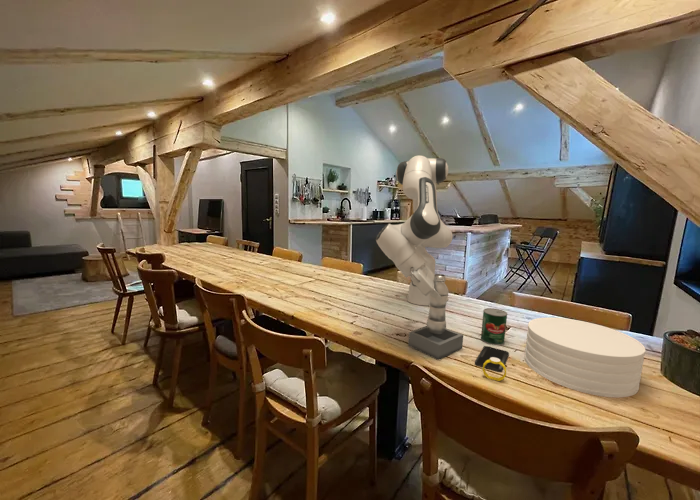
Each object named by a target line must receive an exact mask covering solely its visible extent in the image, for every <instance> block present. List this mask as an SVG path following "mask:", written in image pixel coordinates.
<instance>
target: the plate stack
mask: <svg viewBox="0 0 700 500" xmlns="http://www.w3.org/2000/svg"><path fill="white" fill-rule="evenodd" d="M525 344H526V345H525V349H524V351H525V352H524V358H523V359H524V361H525V364H526V365H527V366H528V367H529V368H530V369H531V370H532V371H534V372H535V373H536V374H538V375H539V376H542V377H543V378H545V379H547V380H548V381H551V382H552V383H555V384H558V385H560V386H562V387H564V388H565V387H566V388H568V389H570V390H572V391H576V392H577V391H578V392H580V393H584V394H588V395H592V396H598V397H605V398H627V397H631V396H634V395H636V394H637V393H638V392H639V389H640V382H641V378H642V375H641V374H642V373H643V365H644V362H645V361H644V360H645V358H644V357H645V355H646V354H645V353H646V347H645V346H644V344H643V343H641V341H639V340H637V339H636V338H634V337H632V336H630V335H628V334H626V333H623V332H621V331H618V330H617V329H614V328H609V327H607V326H604V325H601V324H596V323H593V322H587V321H583V320H578V319H573V318H572V319H571V318H564V317H536V318H534V319H533V318H532V319H531V320H530V321H528V325H527V331H526V340H525Z"/></svg>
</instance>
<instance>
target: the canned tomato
mask: <svg viewBox="0 0 700 500" xmlns="http://www.w3.org/2000/svg"><path fill="white" fill-rule="evenodd" d="M482 311H483V313H482V324H481V332H480V333H481V334H480V340H481V341H482V342H483V343H485V344H488V345H492V346H502V345H504V344H505V337H506V328H507V319H508V312H506V311H505V310H503V309H500V308H491V307H489V308H484V309H483V310H482Z"/></svg>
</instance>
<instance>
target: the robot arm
mask: <svg viewBox="0 0 700 500" xmlns="http://www.w3.org/2000/svg"><path fill="white" fill-rule="evenodd" d="M395 173H396V178H397V182H398V183H399V184H400V185H402V192H403V194H404V195H405V196H406V197H407V198H408V199H410V200H412V212H413V213H412V214H411V216H410V217H408V219H407V220H405V221H404V222H403V223H399V224H391V223H388V224H385V225H384V226H383V227H382V229H381V230H380V231H379V232H378V233H377V235H376V237H375V241H376V244H377V245H378V247H379V248H380V250H381V252H383V254H384V255H385V256H386V257H387V258H388V259H389V260H391V261H392V262H393V264H394V265H395V267H396V268H397V269H398V270H399V272H401V274H402V275H403V276H404V277H405V278H409V277H410V283H409V287H408V294H406V299H407V302H409V303H411V304H414V305H418V306H419V305H420V306H429V307H430V297H429V294H430V295H431V296H432V297H434V298H435V299H436V300H437V301H440V300H442V296H441V295H440V294H438V293H437V291H436V290H435V289H434V275H435V274H436V273H435V272H436V259H435V258H434V256H432V254H430V253H429V252H428V251H427V249H426V248H433V249H442V248H447V247H449V246H450V244H452V241H453V232H452V230H451V228H450V227H449V226H447V225H446V224H445V223H444V222H443V221H442V219H441V217H440V214H439V211H438V199H437V198H438V196H437V195H438V194H437V192H438V191H437V185H440V184H441V183H443V182H445V181H446V180H447V177H448V174H449V164H448V163H447V160H446V159H445V158H442V157H436V158H433V157H431V158H429V157H426V156H424V155H419V154H418V155H415V156H413V157H411V158H410V159H409V160H405V161H402V162H400V163H399V164H398V165H397V169H396V171H395ZM447 301H449V297H448V298H447Z"/></svg>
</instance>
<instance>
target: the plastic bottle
mask: <svg viewBox="0 0 700 500" xmlns="http://www.w3.org/2000/svg"><path fill="white" fill-rule="evenodd" d="M434 289H435V290H436V291H437V293H438V294H440V295H441V296H442V300H440V301H437V300H436V299H435V298H434V297H432V296H431V295H430V294H429V297H430V306H429V308H428V309H429V310H428V317H427V320H426V326H427V329H428V331H429V332H431V333H434V334H442V333H444V331H445V329H447V320H446V308H447V298H448V299H449V297H448V296H449V288H448V285H446V274H444V273H443V274H441V273H435V275H434Z"/></svg>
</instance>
